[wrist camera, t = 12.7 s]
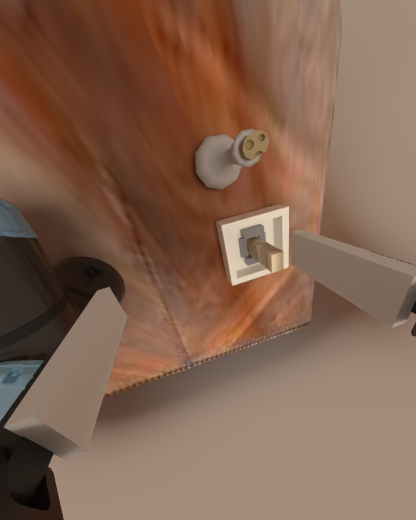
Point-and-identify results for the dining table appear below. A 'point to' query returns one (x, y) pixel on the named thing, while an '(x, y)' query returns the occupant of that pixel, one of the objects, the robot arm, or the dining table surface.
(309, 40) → the dining table surface
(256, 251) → the tapered beige beam
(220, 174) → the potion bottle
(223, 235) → the white square tray
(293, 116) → the dining table surface
